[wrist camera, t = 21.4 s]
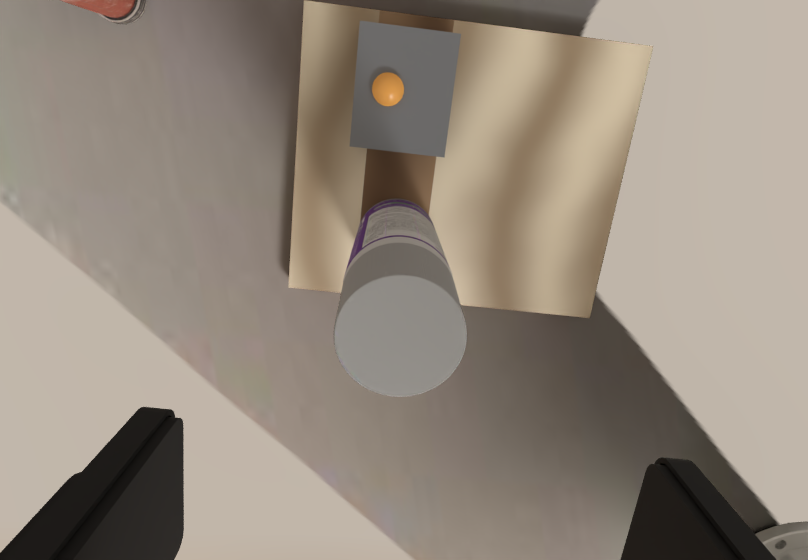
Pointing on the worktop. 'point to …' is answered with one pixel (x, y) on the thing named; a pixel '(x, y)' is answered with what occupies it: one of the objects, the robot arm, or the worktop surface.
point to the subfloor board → (475, 159)
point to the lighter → (114, 9)
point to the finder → (403, 88)
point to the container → (399, 304)
